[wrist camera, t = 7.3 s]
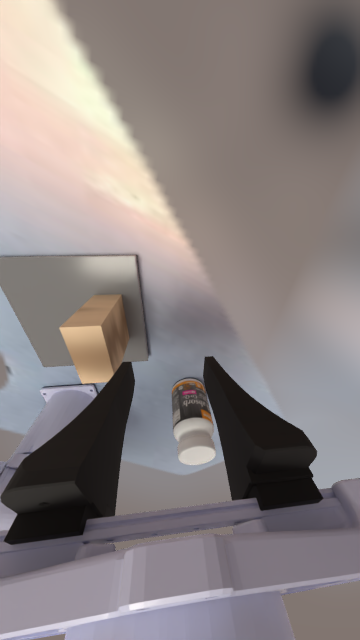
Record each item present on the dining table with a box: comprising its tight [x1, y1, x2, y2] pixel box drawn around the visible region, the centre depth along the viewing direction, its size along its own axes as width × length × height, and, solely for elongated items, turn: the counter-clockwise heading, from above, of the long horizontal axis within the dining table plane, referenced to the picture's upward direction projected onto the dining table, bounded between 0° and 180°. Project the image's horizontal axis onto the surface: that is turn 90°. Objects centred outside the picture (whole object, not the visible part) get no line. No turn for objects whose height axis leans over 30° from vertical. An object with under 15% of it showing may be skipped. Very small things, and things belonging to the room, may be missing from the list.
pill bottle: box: [172, 379, 216, 465], centre depth 25 cm, size 6×6×10 cm
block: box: [59, 294, 129, 384], centre depth 17 cm, size 6×3×7 cm, turn 0°
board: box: [0, 255, 149, 367], centre depth 20 cm, size 14×14×1 cm
